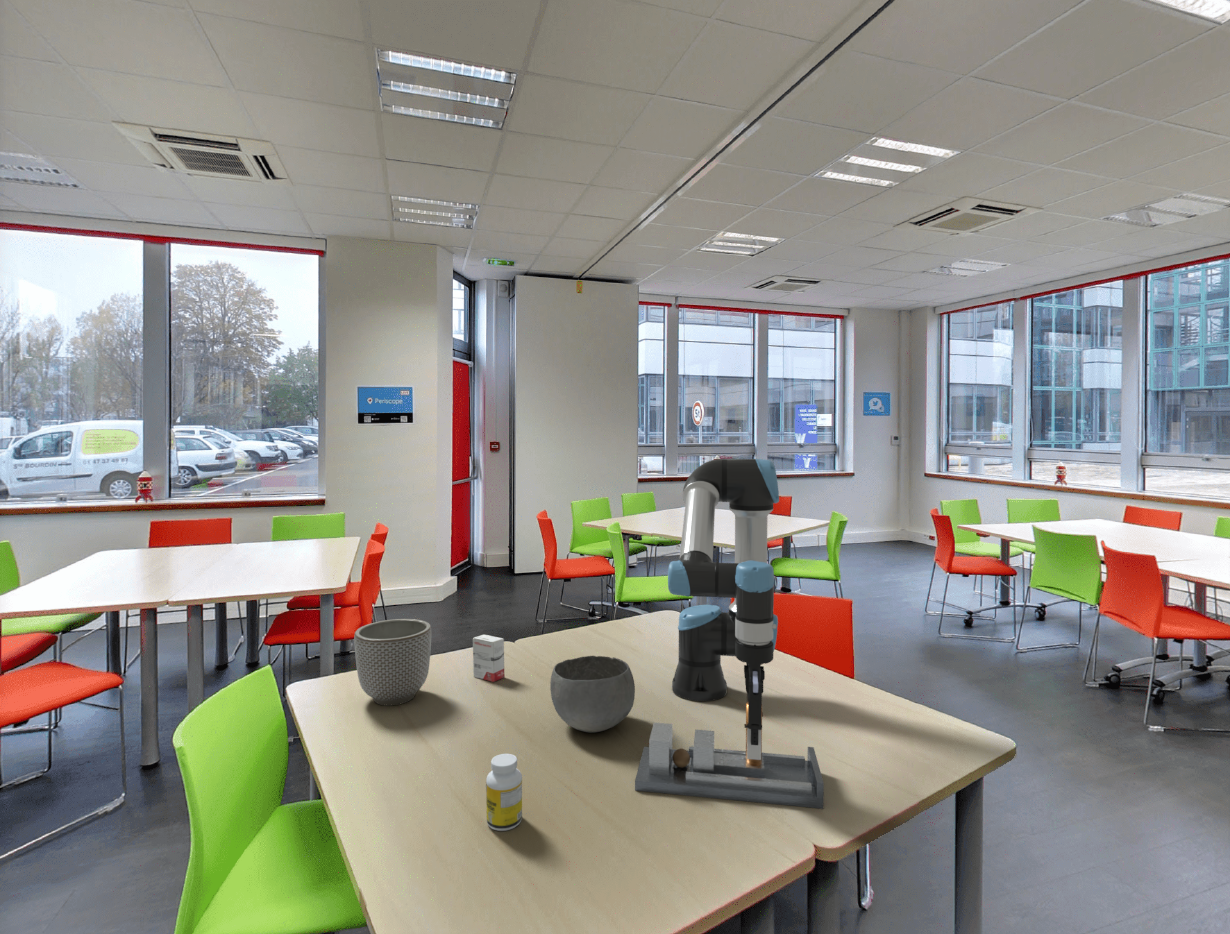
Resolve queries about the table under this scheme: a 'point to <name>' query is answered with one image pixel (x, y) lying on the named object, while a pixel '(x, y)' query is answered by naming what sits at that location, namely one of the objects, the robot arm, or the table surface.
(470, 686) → the table surface
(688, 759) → the walnut
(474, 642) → the ink box
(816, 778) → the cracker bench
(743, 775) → the ram handle
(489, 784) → the pill bottle
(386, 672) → the planter
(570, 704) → the bowl
